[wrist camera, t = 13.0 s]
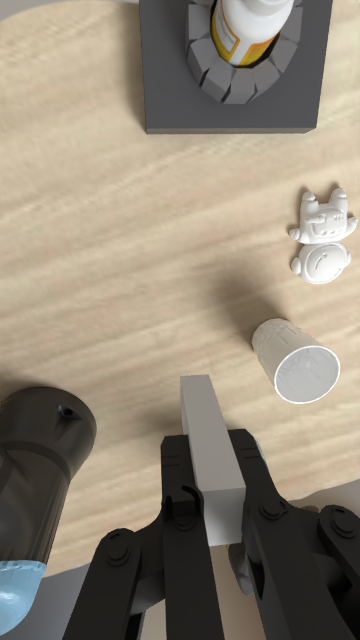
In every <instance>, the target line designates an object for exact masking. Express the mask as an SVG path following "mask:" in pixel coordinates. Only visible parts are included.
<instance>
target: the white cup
mask: <svg viewBox="0 0 360 640" xmlns="http://www.w3.org/2000/svg"><path fill="white" fill-rule="evenodd" d="M252 346H253V350H254V352H255V354H256V356H257V358H258V360H259V362H260V364H261V366H262V368H263V369H264V371H265V373H266V375H267V376H268V378H269V380H270V381H271V383H272V385H273V387H274V388H275V390H276V392H277V393H278V395H279V396H280V397H281V398H283V399H284V400H286V401H288V402H291V403H296V404H303V403H309V402H312V401H315V400H317V399H319V398H321V397H323V396H324V395H325V394H327V393H328V392H329V391H330V390H331V389H332V388H333V386H334V385H335V383H336V382H337V379H338V377H339V373H340V363H339V360H338V357H337V356H336V354H335V353H334V352H333V351H332V350H330V349H329V348H327V347H326V346H325V345H323V344H322V343H320V342H319V341H318V340H316V339H315V338H313V337H312V336H311V335H309V334H308V333H306V332H304V331H303V330H302V329H300V328H298V327H297V326H295V325H293V324H292V323H291V322H289V321H287V320H284V319H281V318H277V319H270V320H267V321H266V322H264V323H262V324H261V325H259V327H258V328H257V329H256V331H255V332H254V334H253V338H252Z"/></svg>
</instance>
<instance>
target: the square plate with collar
mask: <svg viewBox="0 0 360 640" xmlns="http://www.w3.org/2000/svg"><path fill="white" fill-rule="evenodd" d="M217 1H218V0H139V8H140V26H141V44H142V61H143V79H144V97H145V115H146V131H147V134H277V133H306V132H308V131H311V130H313V129H315V128H316V125H317V117H318V109H319V102H320V94H321V86H322V79H323V71H324V63H325V56H326V48H327V40H328V33H329V25H330V17H331V10H332V2H333V0H294V2H293V6H292V9H291V12H290V14H289V16H288V18H287V20H286V22H285V23H284V25H283V27H282V28H281V29H280V31H279V32H278V34H277V35H276V36H275V38H274V39H273V40H272V42H271V43H270V44H269V46H268V47H267V48H266V50H265V51H264V53H263V54H262V55H261V57H260V58H259V59H258V61H257V62H256V63H255V65H254V66H253V67H252V68H251V69H245V68H233V67H232V66H231V65H230V64H228V63H227V62H226V61H224V60H223V59H222V58H220V57H219V55H218V53H217V51H216V48H215V46H214V44H213V41H212V39H211V36H210V23H211V20H212V16H213V13H214V10H215V7H216V4H217Z"/></svg>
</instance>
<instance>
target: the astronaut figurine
mask: <svg viewBox="0 0 360 640" xmlns="http://www.w3.org/2000/svg"><path fill="white" fill-rule="evenodd" d="M345 197H346V193H345V190H344V189H343V188H337V189H335V190H334V191H333V192H332V194H331V197H330V199H329V202H328V203H326V204H318V201H314V200H315V195H314V194H313V193H312V192H311V191H308V192H305V193H304V194H303V196H302V202H301V207H300V228H296V229H292V230H290V232H289V236H290V237H291V238H292V239H294V240H296V241H298V242H300V243H303V244H305V245H304V246H303V248H302V249H301V251H300V252H299V255H298V256H299V257H296V258H294V260H293V261H292V264H291V269H292V271H293V273H294V274H299V277H300V278H301V279H303V280H304V281H306V282H308V283H312V284H323V283H327V282H330V281H332V280H333V279H335V278H336V277H337V276H339V275H340V274H341V272H342V271H343V269H344V267H345V266H347V265H348V264H349V263H350V261H351V254H350V253H349V252H348V251H346V248H345V247H344V245H343V244H342V243H341V242H340V239H342V238H344V237H346V236H348V235H349V234H350V233H352V232H353V231H354V228H355V227H356V226H357V221H358V219H357V218H356V217H351V218H347V205H348V203H347V199H345Z"/></svg>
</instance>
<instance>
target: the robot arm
mask: <svg viewBox="0 0 360 640" xmlns="http://www.w3.org/2000/svg"><path fill="white" fill-rule="evenodd" d="M180 384H181V418H182V426H183V433H184V435H175V436H165V437H164V440H163V442H162V444H161V476H162V502H161V506H162V508H161V511H160V513H159V515H158V517H157V518H156V519H155V520H154V521H153V522H152V523H151V524H150V525H148V526H146V527H145V528H142V529H140V530H138V531H136V532H133V531H131V530H129V529H126V528H121V529H115V530H113V531H111V532H109V533H108V534H107V535H106V536H105V537H104V538H103V539H101V541H100V543H99V545H98V547H97V548H96V551H95V554H94V556H93V559H92V562H91V564H90V567H89V569H88V572H87V575H86V578H85V580H84V583H83V585H82V588H81V591H80V593H79V596H78V599H77V601H76V604H75V607H74V609H73V612H72V614H71V617H70V620H69V622H68V625H67V628H66V630H65V633H64V636H63V638H62V640H140V637H141V632H142V627H143V622H144V617H145V612H146V609H148V608H150V607H151V606H153V605H155V604H156V603H158V602H160V601H161V600H163V599H165V604H166V605H165V606H166V635H167V640H225V639H224V633H223V627H222V621H221V615H220V609H219V603H218V597H217V591H216V585H215V580H214V574H213V567H212V561H211V556H210V549H209V546H215V545H224V544H233V543H241V541H242V535H243V539H244V542H245V546H246V554H245V565H244V571H245V576H248V572H249V575H250V578H251V582H252V586H253V590H254V594H255V598H256V601H257V605H258V609H259V613H260V617H261V621H262V624H263V628H264V632H265V636H266V639H267V640H360V518H359V517H358V516H356V515H355V514H354V513H353V512H352V511H350V510H348V509H346V508H344V507H342V506H338V505H327V506H325V507H324V508H323V509H321V512H320V513H317V512H312V511H308V510H303V509H300V508H297V507H294V506H292V505H291V504H289V503H288V502H287V501H286V500H285V499H284V498H283V497H281V496H280V495H279V493H278V491H277V490H276V488H275V485H274V483H273V481H272V478H271V476H270V474H269V472H268V469H267V467H266V465H265V462H264V460H263V458H262V456H261V453H260V451H259V449H258V446H257V444H256V442H255V440H254V437H253V436H252V435H251V434H250V433H249V432H248V431H247V430H246V429H236V430H227V428H226V425H225V422H224V419H223V416H222V413H221V410H220V407H219V404H218V401H217V398H216V395H215V392H214V389H213V386H212V383H211V380H210V377H209V374H208V375H194V376H180ZM95 437H96V422H95V419H94V416H93V414H92V412H91V411H90V409H89V408H88V407H87V406H86V405H85V404H84V403H83V402H82V401H81V400H79V399H78V398H77V397H75V396H73V395H71V394H69V393H67V392H65V391H62V390H58V389H54V388H46V387H35V388H28V389H24V390H21V391H18V392H16V393H14V394H12V395H10V396H9V397H8V398H6V399H5V400H4V401H3V402H2V403H1V405H0V635H2V634H4V633H6V632H8V631H9V630H11V629H12V628H14V627H15V626H16V625H17V624H18V623H19V622H20V621H21V620H22V619H23V618H24V617H25V616H26V614H27V613H28V611H29V609H30V608H31V605H32V603H33V600H34V598H35V595H36V592H37V589H38V586H39V583H40V581H41V578H42V576H43V575H44V573H45V572H46V567H47V562H48V558H49V555H50V551H51V548H52V544H53V541H54V537H55V534H56V530H57V527H58V523H59V520H60V516H61V512H62V509H63V505H64V502H65V498H66V495H67V491H68V488H69V484H70V481H71V480H72V478H73V477H74V476H75V474H76V473H77V471H78V470H79V469H80V467H81V466H82V464H83V463H84V461H85V460H86V459H87V457H88V456H89V454H90V452H91V450H92V448H93V445H94V441H95Z"/></svg>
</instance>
